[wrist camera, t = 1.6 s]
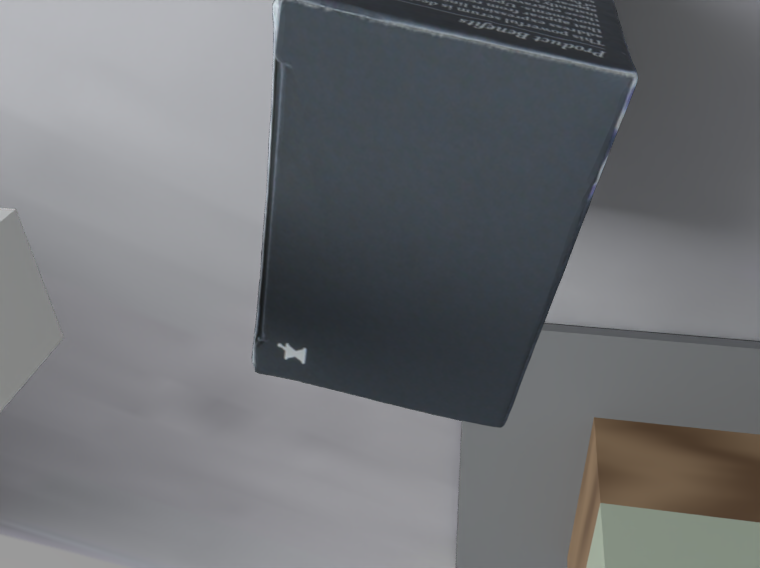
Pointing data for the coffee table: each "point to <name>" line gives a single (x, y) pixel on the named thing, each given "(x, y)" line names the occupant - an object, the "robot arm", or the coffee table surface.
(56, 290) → the coffee table surface
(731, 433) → the tower bottom
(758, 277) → the coffee table surface
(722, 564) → the tower top
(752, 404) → the felt mat
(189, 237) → the coffee table surface
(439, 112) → the box
